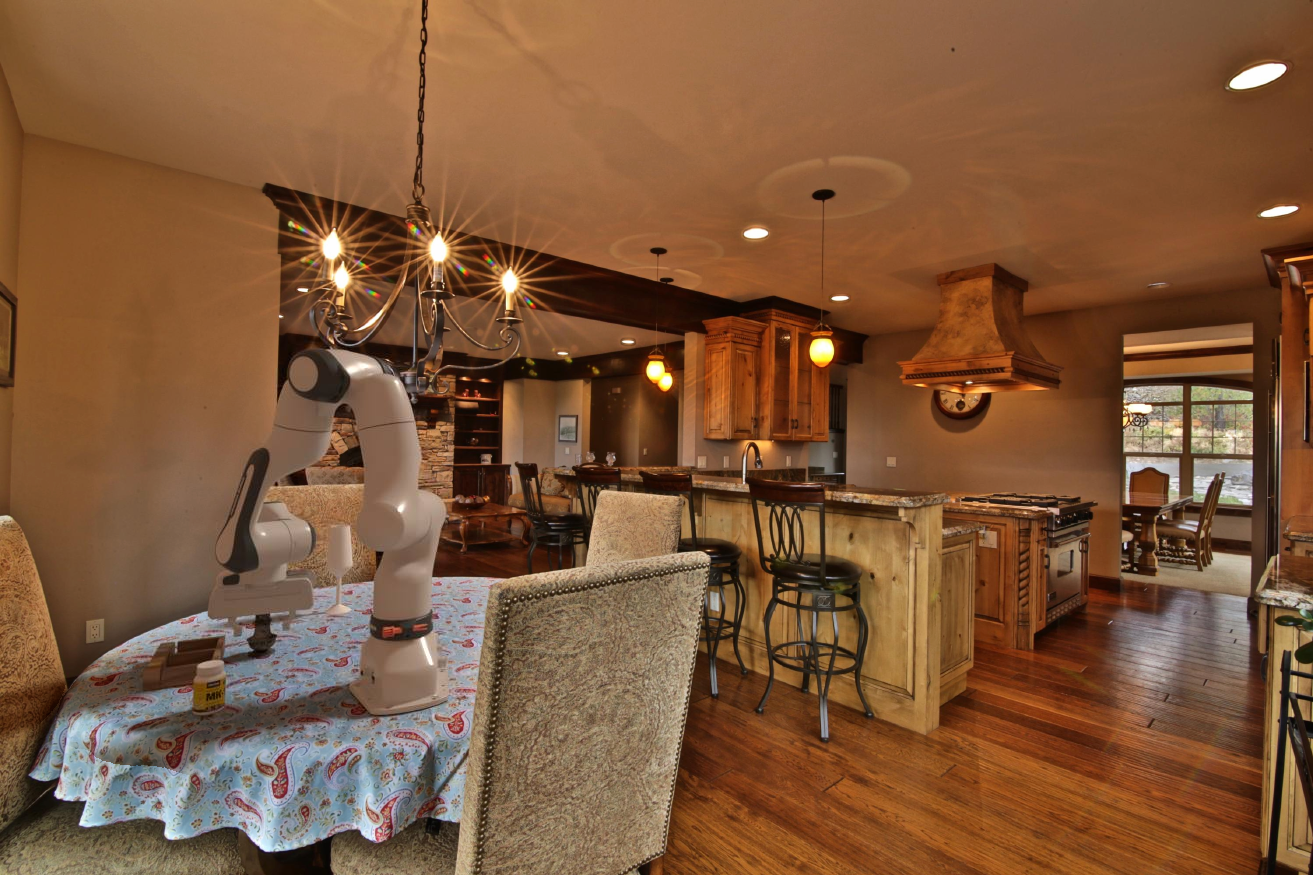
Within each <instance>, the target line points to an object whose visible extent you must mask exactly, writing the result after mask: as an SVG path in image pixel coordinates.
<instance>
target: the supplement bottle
mask: <svg viewBox="0 0 1313 875" xmlns="http://www.w3.org/2000/svg"><path fill="white" fill-rule="evenodd" d="M224 670H225V662H224V661H223V660H222V661H221V660H213V661H207V662H203V663H201V664H199V665H198V666H197V676H196V677H195V678H194V683H193V684H192V685H193V687H192V688H193V693H192V714H193V715H195V716H209V715H212V714H216V713H218V712H220V711H222V710H223V709H224V708H226V707H225V705H226V690H227V689H226V687H227V686H226V685H227V684H226V683H227V673H226V672H225V671H224Z"/></svg>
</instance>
